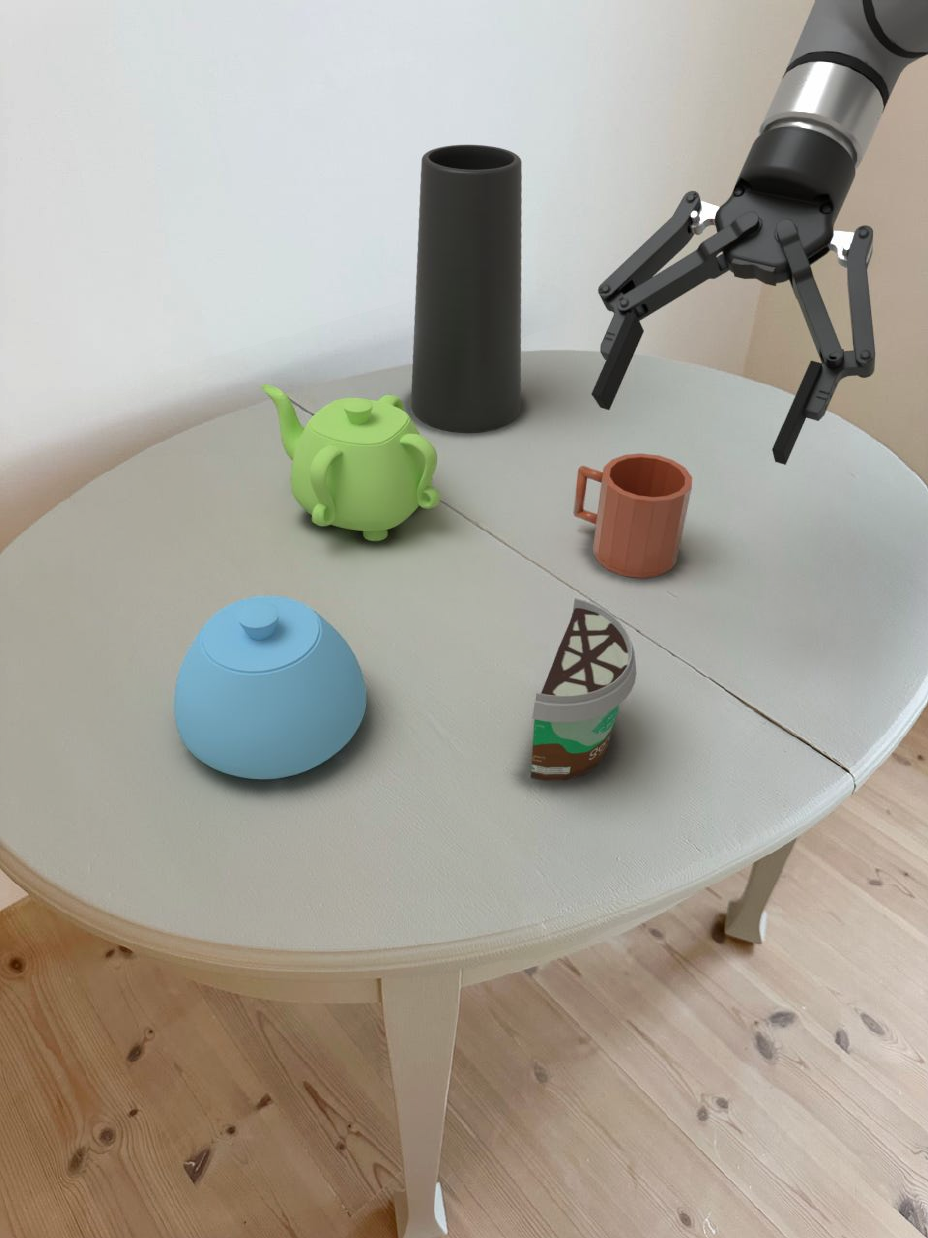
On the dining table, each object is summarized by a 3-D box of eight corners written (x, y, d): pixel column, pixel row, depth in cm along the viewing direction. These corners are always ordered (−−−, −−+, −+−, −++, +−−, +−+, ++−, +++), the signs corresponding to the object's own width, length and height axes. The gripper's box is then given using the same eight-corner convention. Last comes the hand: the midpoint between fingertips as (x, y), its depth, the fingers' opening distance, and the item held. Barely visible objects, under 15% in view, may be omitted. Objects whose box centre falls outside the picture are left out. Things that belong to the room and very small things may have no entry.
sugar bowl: (293, 823, 70) (276, 713, 63) (140, 746, 76) (107, 636, 68) (402, 697, 80) (398, 589, 73) (260, 637, 86) (243, 531, 78)
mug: (689, 546, 97) (706, 470, 92) (655, 588, 92) (669, 510, 86) (590, 510, 102) (600, 435, 96) (552, 548, 97) (559, 472, 91)
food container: (604, 813, 71) (621, 720, 65) (525, 791, 73) (534, 698, 66) (636, 702, 80) (654, 611, 74) (565, 684, 82) (576, 593, 75)
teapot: (287, 562, 94) (273, 450, 86) (273, 485, 105) (259, 379, 96) (446, 541, 97) (447, 431, 89) (417, 468, 108) (416, 364, 100)
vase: (388, 407, 119) (379, 156, 100) (459, 370, 127) (463, 132, 108) (473, 444, 112) (480, 184, 93) (542, 403, 120) (561, 156, 102)
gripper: (985, 217, 66) (862, 498, 66) (654, 156, 76) (548, 400, 76) (1000, 152, 59) (863, 465, 59) (635, 94, 69) (518, 361, 70)
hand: (685, 429), depth 68 cm, fingers open, 13 cm apart
